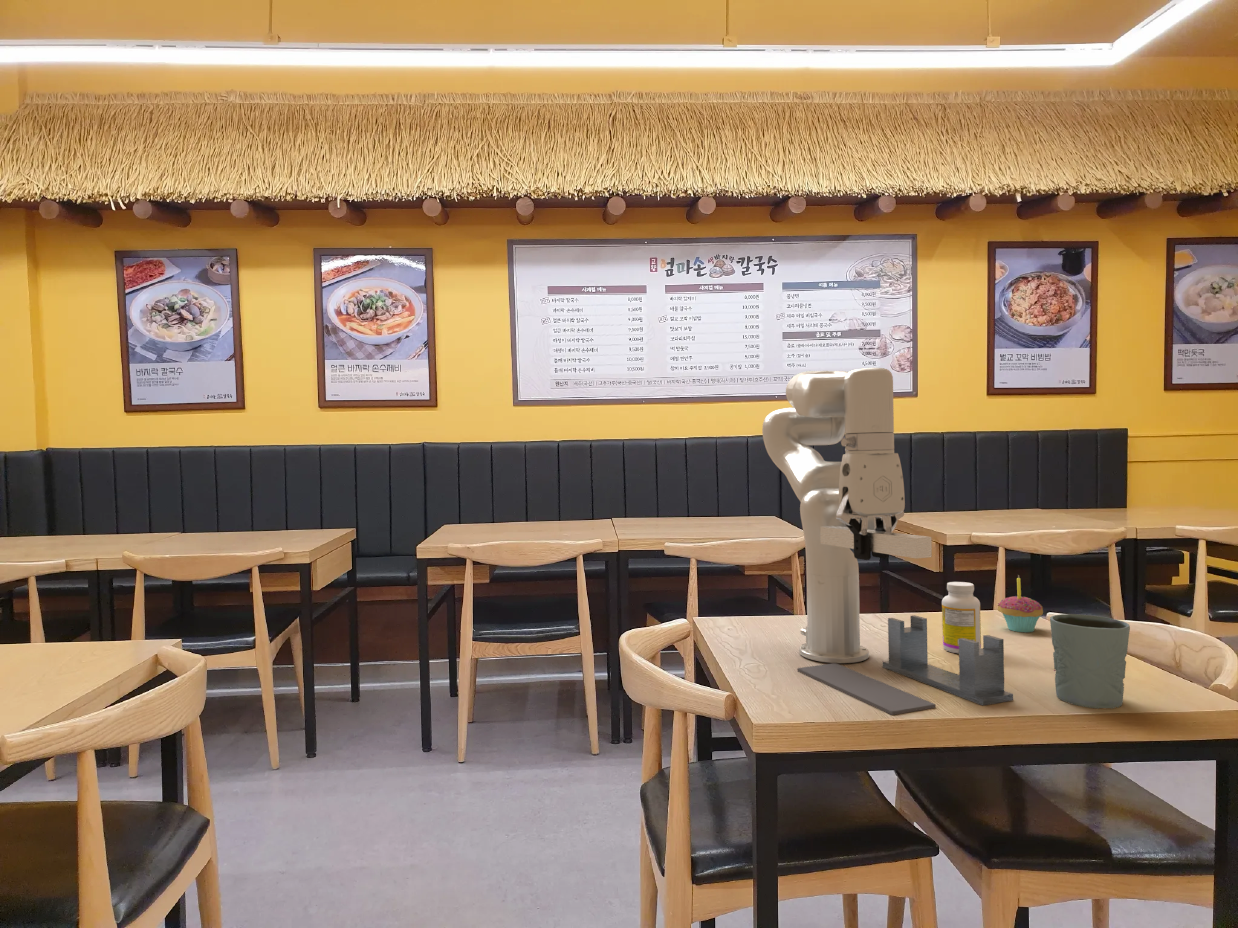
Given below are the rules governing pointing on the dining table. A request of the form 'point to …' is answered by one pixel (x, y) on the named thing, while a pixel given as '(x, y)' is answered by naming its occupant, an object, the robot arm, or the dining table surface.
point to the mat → (867, 689)
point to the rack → (975, 677)
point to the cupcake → (1020, 611)
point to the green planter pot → (1089, 659)
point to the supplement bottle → (960, 616)
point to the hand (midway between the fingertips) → (871, 557)
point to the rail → (880, 542)
